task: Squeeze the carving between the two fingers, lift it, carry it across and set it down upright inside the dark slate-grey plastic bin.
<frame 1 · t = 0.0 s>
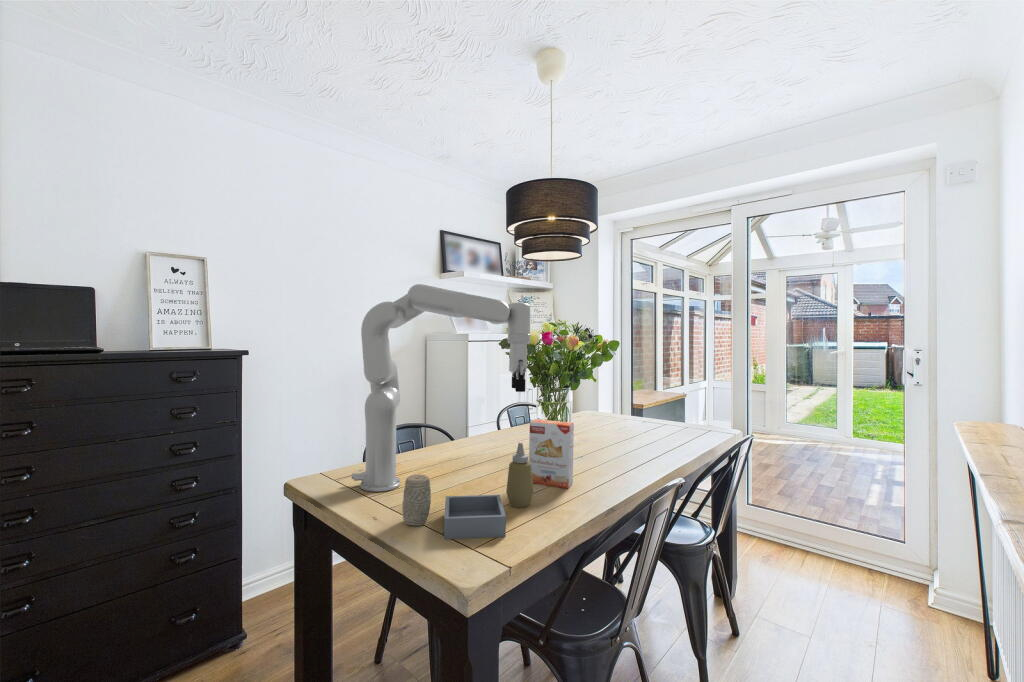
hand: (518, 389, 150), 31 cm above the table, tool pointing down, fingers open, 9 cm apart
bin: (473, 524, 116), on the table
cracker box: (550, 484, 149), on the table
carving: (416, 523, 117), on the table
squeeze bottle: (519, 504, 130), on the table
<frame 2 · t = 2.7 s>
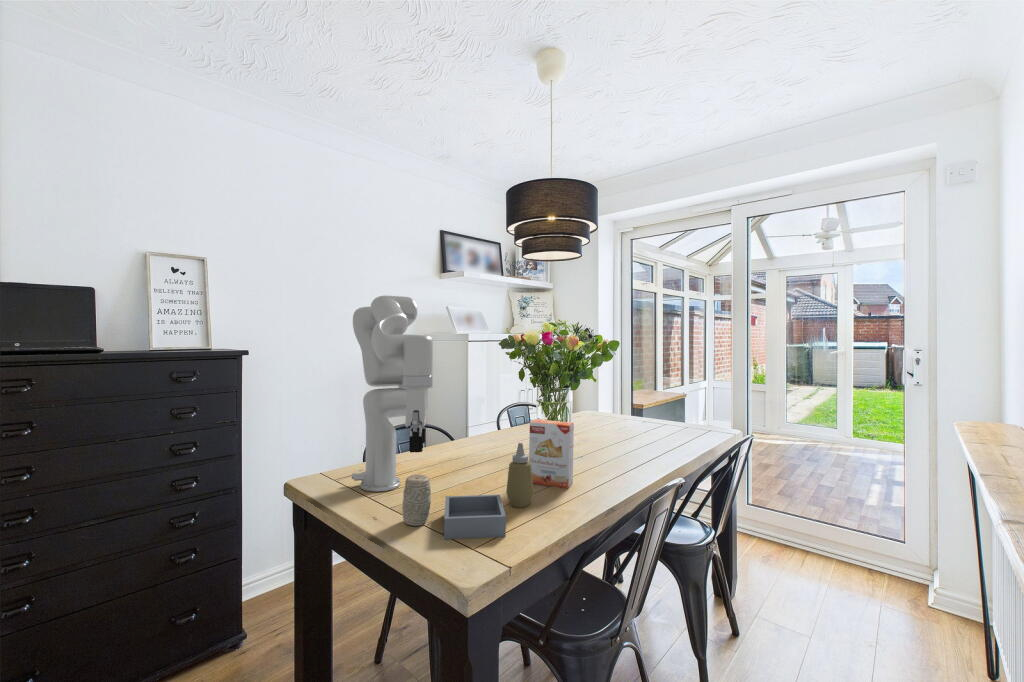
hand: (417, 447, 116), 20 cm above the table, tool pointing down, fingers open, 9 cm apart
nothing on the table moved.
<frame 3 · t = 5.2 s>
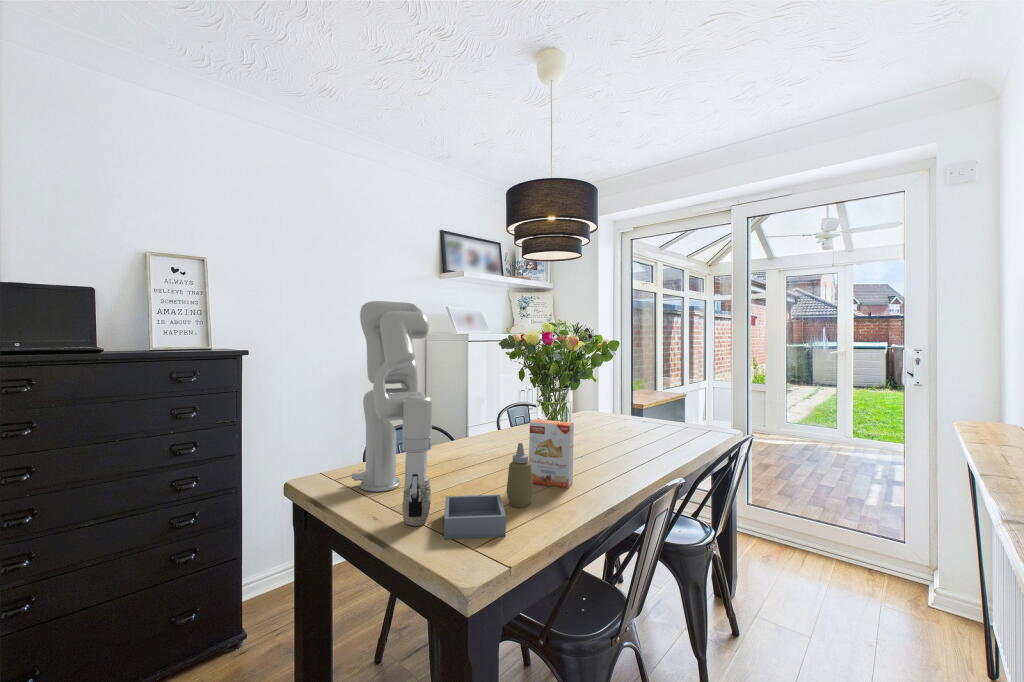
hand: (416, 510, 117), 3 cm above the table, tool pointing down, fingers closed on carving, 6 cm apart
carving: (416, 523, 117), on the table, touching gripper
everything else where it was.
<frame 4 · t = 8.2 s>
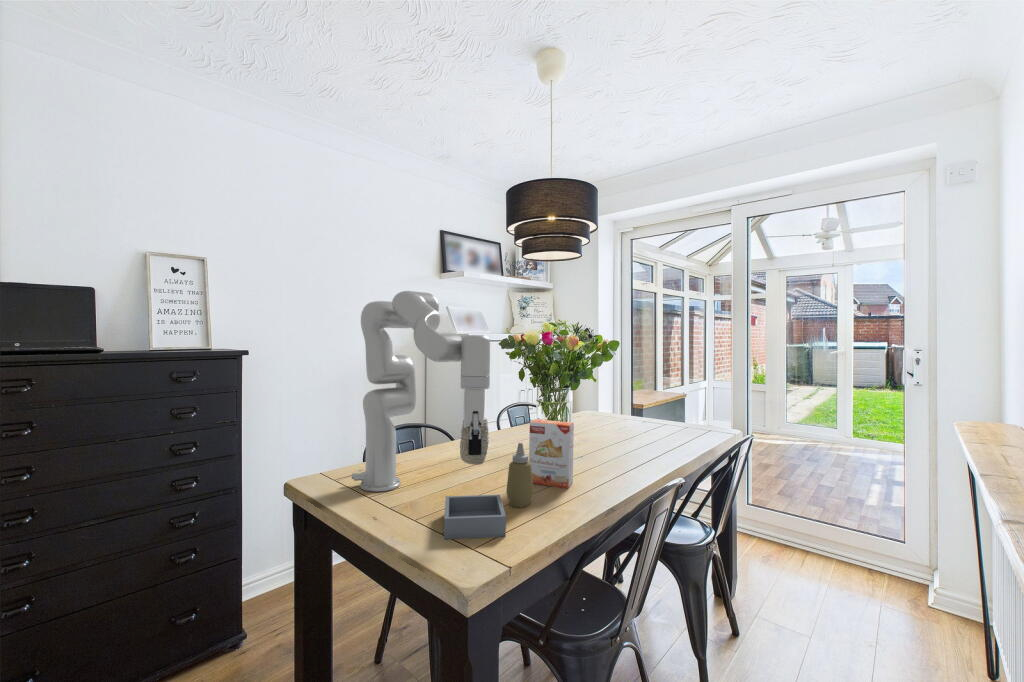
hand: (474, 450, 115), 19 cm above the table, tool pointing down, fingers closed on carving, 6 cm apart
carving: (473, 463, 115), point 16 cm above the table, touching gripper
everything else where it was.
when the fingers open (6 cm above the table, at t = 11.6 s): carving drops 2 cm, resting on bin.
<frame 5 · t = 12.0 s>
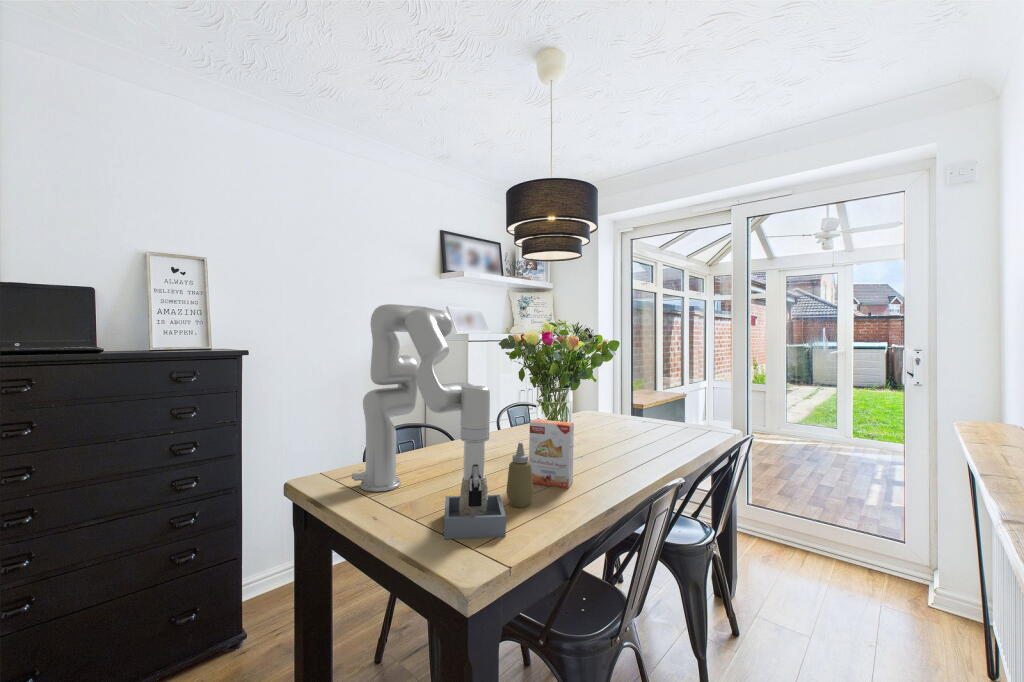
hand: (474, 498, 115), 7 cm above the table, tool pointing down, fingers open, 9 cm apart
carving: (473, 521, 116), point 1 cm above the table, touching bin
everything else where it was.
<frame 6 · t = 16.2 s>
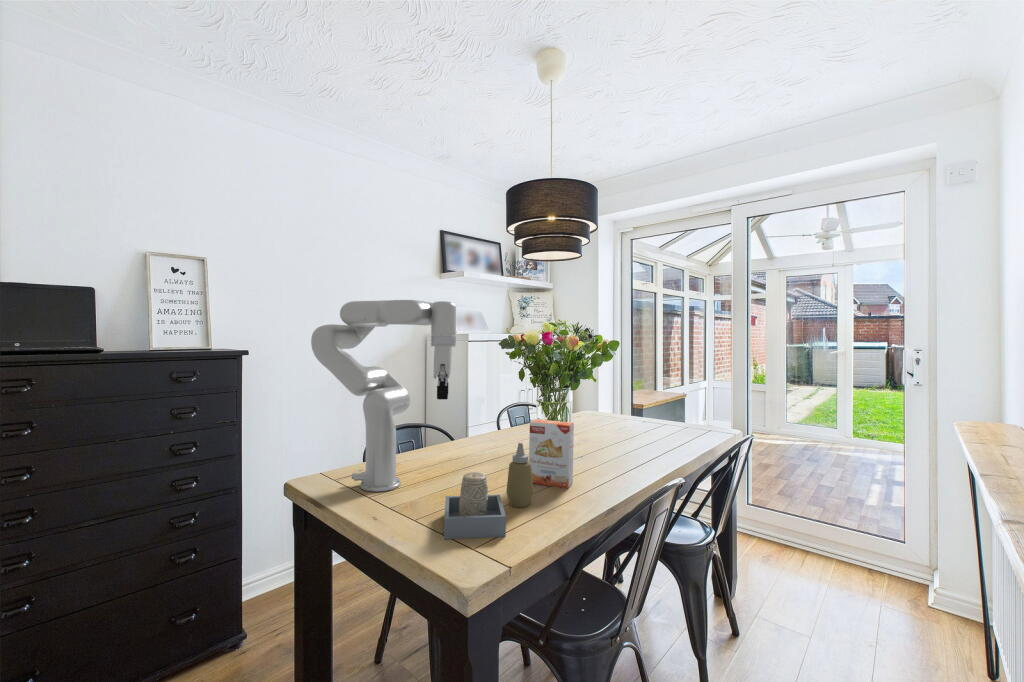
hand: (442, 396, 137), 30 cm above the table, tool pointing down, fingers open, 9 cm apart
nothing on the table moved.
at the end: carving inside the target area on the bin (0.4 cm from its centre), point 0.8 cm above the bin's base; carving tilted 0°; the gripper is holding nothing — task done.
